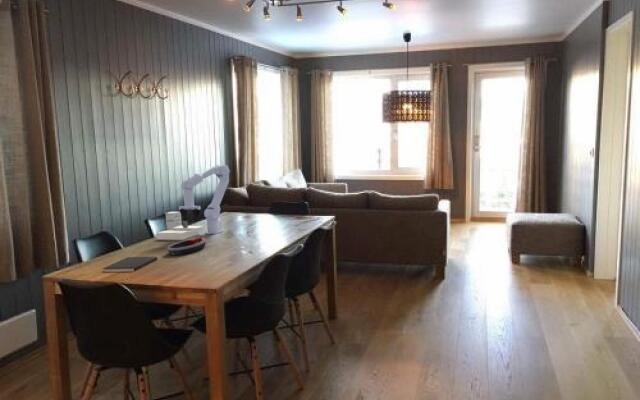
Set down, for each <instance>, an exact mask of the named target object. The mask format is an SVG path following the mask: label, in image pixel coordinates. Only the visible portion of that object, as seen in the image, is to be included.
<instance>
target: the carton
mask: <svg viewBox="0 0 640 400" xmlns="http://www.w3.org/2000/svg"><path fill="white" fill-rule="evenodd" d="M196 237H198V230H197V229H171V230H168V231H167V230H162V231H159V232H156V240H157V239H158V240H157V241H174V242H175V241H176V242H180V241H184V240H189V239H193V238H196Z"/></svg>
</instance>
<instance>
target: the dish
mask: <svg viewBox="0 0 640 400" xmlns="http://www.w3.org/2000/svg"><path fill="white" fill-rule="evenodd" d="M206 243H207V239H206V238H205V237H203V236H202V237H201V236H199V237H198V236H197V237H193V238H189V239H186V240H183V241H176V242H175V243H172V244H168V245H167V247H166V250H167V252H168V253H169V255H172V256H174V255H175V256H179V255H185V254H190V253H194V252H196V251H199V250H202V249H203V248H204V247H205V246H206Z"/></svg>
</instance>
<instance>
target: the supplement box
mask: <svg viewBox="0 0 640 400" xmlns="http://www.w3.org/2000/svg"><path fill="white" fill-rule="evenodd" d="M165 222H166V223H165V225H166V231H168V230H171V229H173V228H174V227H178V226H183V221H182V214H181V213H180V211H169V212H165Z"/></svg>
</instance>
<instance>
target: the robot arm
mask: <svg viewBox="0 0 640 400" xmlns="http://www.w3.org/2000/svg"><path fill="white" fill-rule="evenodd" d="M229 168H230V167H229V166H228V165H225V164H222V165H219V164H217V165H214V166H212V167H211V168H209V169H207V170H205V171H204V172H202V173H201V174H200V173H194V175H193V176H190V177H188V178H187V179H184V180H183V181H182V182H181V184H180V187H181V188H182V189H183V191H182V192H183V201H184V205H182V206H181V205H179V206H178V210H179V212H180V213H181V217H182V219H183V222H184V221H187V222H188V211H189V209H191V210H192V211H191V212H192V214H193V220H194V222H198V218H199V214H200V213H201V209H202V208H201V206H200V205H195V199H194V198H195V197H194V188H195V187H196V186H198V185H199V184H201V183H202V182H204V179H206V178H208V177H210V176H212V175H215V176H216V177H217V178H218V180H219V183H218V185H217V188H216V191H215V192H214V195H213V198H212V200H211V202H210V204H208V205H207V208H206V209H205V210H204V211H203V215H204V217H205V218H206V228H207V230H206V231H207V232H205V233H204V234H205V235H217V234H219V233H222V232H224V230H223V228H222V220H221V219H220V216H221V215H220V214H221V207H220V205H221V202H222V200H223V198H224V195H225V192H226V189H227V187H228V185H229V183H230V173H231V170H230V169H229Z"/></svg>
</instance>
